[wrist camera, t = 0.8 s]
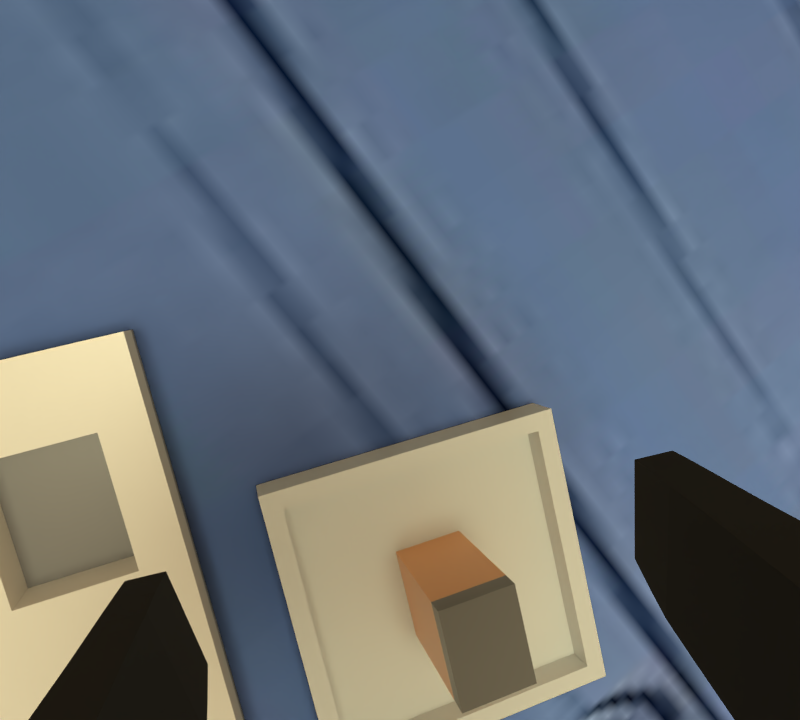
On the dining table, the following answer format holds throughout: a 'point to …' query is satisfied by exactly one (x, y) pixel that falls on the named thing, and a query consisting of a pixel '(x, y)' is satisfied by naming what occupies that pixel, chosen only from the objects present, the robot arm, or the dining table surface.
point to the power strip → (87, 515)
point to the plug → (467, 620)
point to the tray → (414, 524)
